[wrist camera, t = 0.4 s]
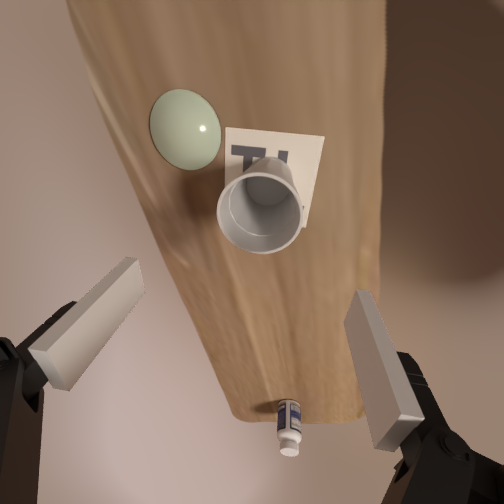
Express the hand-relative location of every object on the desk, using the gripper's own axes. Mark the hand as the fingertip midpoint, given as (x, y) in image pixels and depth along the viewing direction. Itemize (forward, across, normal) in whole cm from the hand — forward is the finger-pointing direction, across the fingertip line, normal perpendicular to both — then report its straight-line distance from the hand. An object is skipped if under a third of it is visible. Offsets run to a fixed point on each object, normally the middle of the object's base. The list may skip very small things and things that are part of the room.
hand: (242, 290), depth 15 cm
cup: (+21, 0, +1) cm, 22 cm away
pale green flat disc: (+21, -11, +6) cm, 25 cm away
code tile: (+21, 0, +1) cm, 21 cm away
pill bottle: (+22, +11, -53) cm, 58 cm away
